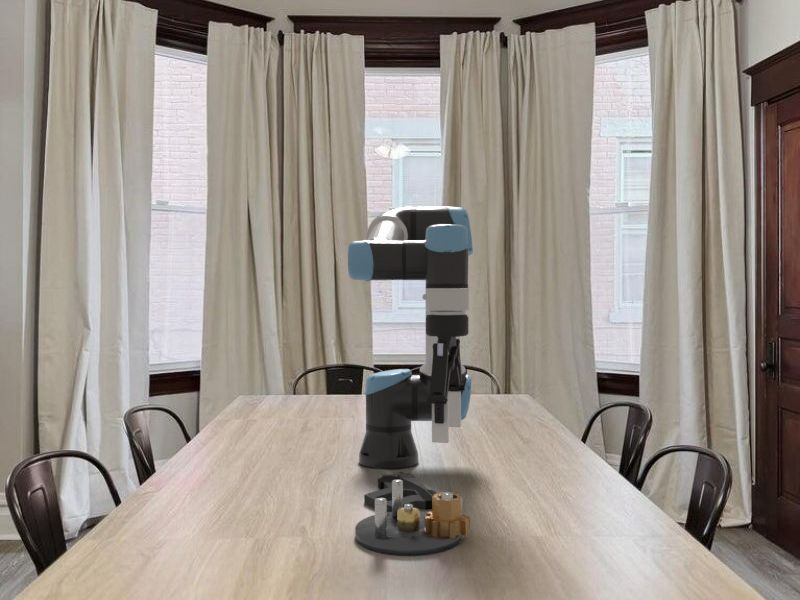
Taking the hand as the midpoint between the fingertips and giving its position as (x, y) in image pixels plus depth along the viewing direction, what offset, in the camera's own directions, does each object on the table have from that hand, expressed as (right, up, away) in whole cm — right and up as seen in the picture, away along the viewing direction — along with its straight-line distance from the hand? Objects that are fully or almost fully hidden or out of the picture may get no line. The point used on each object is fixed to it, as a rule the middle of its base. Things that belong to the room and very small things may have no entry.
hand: (447, 434), depth 124 cm
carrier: (-7, -19, +2) cm, 20 cm away
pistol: (-9, -19, +27) cm, 34 cm away
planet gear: (0, -17, 0) cm, 17 cm away
